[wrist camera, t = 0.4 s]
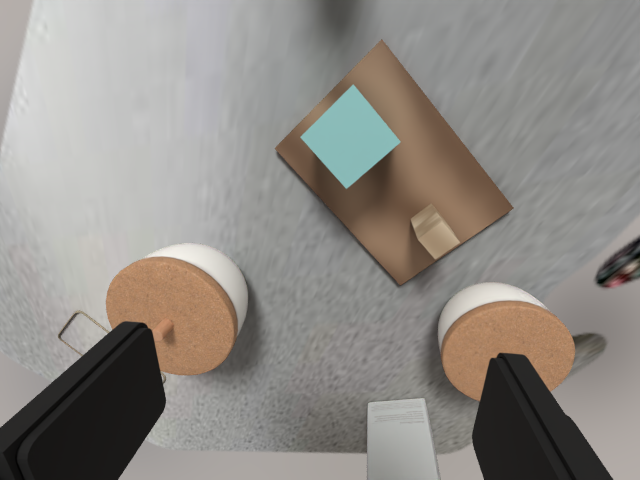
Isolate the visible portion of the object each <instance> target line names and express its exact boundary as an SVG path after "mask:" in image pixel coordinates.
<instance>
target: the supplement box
mask: <svg viewBox="0 0 640 480" xmlns="http://www.w3.org/2000/svg"><path fill="white" fill-rule="evenodd" d="M367 480H441V478H440V473H439V467H438V462H437V457H436V451H435V446H434V440H433V434H432V429H431V424H430V419H429V415H428V411H427V407H426V402H425V399H424V398H418V399H404V400H390V401H379V402H370V403H368V409H367Z"/></svg>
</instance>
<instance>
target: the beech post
mask: <svg viewBox="0 0 640 480" xmlns="http://www.w3.org/2000/svg"><path fill="white" fill-rule="evenodd" d="M411 222H412V225H413V227H414V230H415V233H416V236H417V239H418V240H419V241H420V243H421V244H422V245H423V246H424V247H425V248H426V249H427V251H428V252H429V253H430V254H431V255H432V256H433V257H434V259H437V258H438V257H440V256H441V255H443V254H444V253H446V252H447V251H449V250H450V249H452V248H453V247H454V246H456V245H457V244H459V243H460V242H459V240H458V239H457V237H456V236H455V234H454V232H453V231H452V229H451V228H450V226H449V225H448V223H447V222H446V220H445V219H444V218H443V217H442V216H441V215H440V213H439V212H438V211H437V210H436V209H435V207H434V206H433V205H432V204H430V205H428V206H427V207H426V208H424V209H423V210H422V211H420V212H419V213H418V214H416V215H415V216H414V217H412V218H411Z"/></svg>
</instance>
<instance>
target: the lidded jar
mask: <svg viewBox="0 0 640 480" xmlns="http://www.w3.org/2000/svg"><path fill="white" fill-rule="evenodd" d="M438 342H439V348H440V353H441V361H442V365H443V368H444V372H445V374H446V376H447V378H448V379H449V381H450V382H451V383H452V385H453V386H455V387H456V388H457V389H458V390H459V391H460V392H462V393H463V394H465V395H467V396H469V397H471V398H472V399H475V400H478V401H480V399H481V395H482V390H483V386H484V382H485V378H486V373H487V369H488V365H489V361H490V359H491V358H496V357H497V355H498V354H499V353H513V354H523V355H525V356H526V357H527V358H528V359H529V361H530V362H531V364H532V365H533V367H534V368H535V370H536V371H537V373H538V374H539V376H540V377H541V379H542V380H543V382H544V383H545V385H546V386H547V388H548V389H549V391H552V390H553V389H555V388H556V387H557V386H558V385H559V384H560V383H562V381H563V380H564V379H565V378H566V376H567V375H568V373H569V371H570V370H571V368H572V364H573V361H574V356H575V347H574V341H573V339H572V336H571V334H570V332H569V331H568V329H567V328H566V326H564V324H563V323H562V322H561V321H560V320H559V319H558V318H557V317H556V316H555V315H554V314H552V313H551V312H550V311H549V310H548V309H547V308H546V307H545V306H544V305H543V304H542V303H541V302H540V301H538V300H537V299H536V298H534V297H533V296H532V295H530V294H529V293H527V292H525V291H523V290H521V289H519V288H517V287H514V286H511V285H508V284H504V283H498V282H487V283H479V284H474V285H471V286H468V287H466V288H464V289H462V290H461V291H459V292H458V293H456V294H455V295H454V296H453V297H452V298H451V299H450V300H449V301H448V302H447V304H446V305H445V307H444V309H443V310H442V313H441V316H440V319H439V324H438Z"/></svg>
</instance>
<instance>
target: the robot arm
mask: <svg viewBox="0 0 640 480" xmlns="http://www.w3.org/2000/svg"><path fill="white" fill-rule="evenodd" d="M165 404H166V397H165V392H164V387H163V382H162V377H161V372H160V367H159V362H158V357H157V352H156V347H155V342H154V337H153V332H152V330H151V329H150V328H148V326H147V325H146V324H145V323H143V322H131V321H124V322H121V323H120V324H119V325H117V326H116V327H115V328H114V329H113V330H112V331H111V332H109V333H108V334H107V335H106V336H105V337H104V338H103V339H101V340H100V341H99V342H98V343H97V344H96V345H95V346H93V347H92V348H91V349H90V350H89V351H88V352H87V353H85V354H84V355H83V356H82V357H81V358H80V359H79V360H77V361H76V362H75V363H74V364H73V365H72V366H70V367H69V368H68V369H67V370H66V371H65V372H64V373H62V374H61V375H60V376H59V377H58V378H57V379H56V380H54V381H53V382H52V383H51V384H50V385H49V386H48V387H46V388H45V389H44V390H43V391H42V392H41V393H40V394H38V395H37V396H36V397H35V398H34V399H33V400H32V401H31V402H29V403H28V404H27V405H26V406H25V407H24V408H22V409H21V410H20V411H19V412H18V413H17V414H16V415H14V416H13V417H12V418H11V419H10V420H9V421H7V422H6V423H5V424H4V425H3V426H2V427H1V428H0V480H118V479H119V477H120V476H121V474H122V473H123V471H124V470H125V468H126V467H127V465H128V463H129V462H130V461H131V459H132V458H133V456H134V455H135V453H136V452H137V450H138V448H139V447H140V446H141V444H142V443H143V441H144V440H145V438H146V437H147V435H148V434H149V432H150V431H151V429H152V428H153V426H154V425H155V423H156V422H157V420H158V419H159V417H160V416H161V414H162V412H163V411H164V408H165ZM472 440H473V446H474V450H475V453H476V456H477V459H478V462H479V465H480V468H481V471H482V474H483V477H484V480H613V478H612V477H611V476H610V474H609V473H608V471H607V470H606V468H605V467H604V465H603V464H602V462H601V461H600V459H599V458H598V456H597V455H596V454H595V452H594V451H593V449H592V448H591V446H590V445H589V443H588V442H587V440H586V439H585V437H584V436H583V434H582V433H581V431H580V430H579V428H578V427H577V426H576V424H575V423H574V422H573V420H572V419H571V418H570V417H569V416H567V415H565V413H564V412H563V410H562V409H561V407H560V406H559V404H558V403H557V401H556V400H555V398H554V397H553V395H552V394H551V392H550V391H549V389H548V388H547V386H546V385H545V383H544V382H543V380H542V379H541V377H540V376H539V374H538V373H537V371H536V370H535V368H534V367H533V365H532V364H531V362H530V361H529V359H528V358H527V357H526V356H525V355H523V354H513V353H499V354H498V355H497V357H496V358H491V359H490V361H489V365H488V369H487V373H486V378H485V382H484V386H483V390H482V395H481V399H480V403H479V407H478V412H477V416H476V420H475V424H474V429H473V434H472Z"/></svg>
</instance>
